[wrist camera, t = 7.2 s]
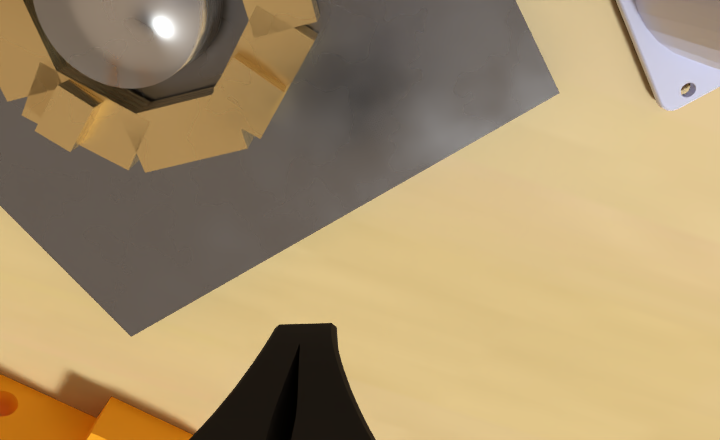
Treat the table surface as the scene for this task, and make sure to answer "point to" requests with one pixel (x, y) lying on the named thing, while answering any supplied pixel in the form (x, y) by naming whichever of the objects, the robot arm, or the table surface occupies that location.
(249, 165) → the housing
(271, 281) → the table surface
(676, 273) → the table surface
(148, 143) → the ring nut
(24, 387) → the pipe clamp
